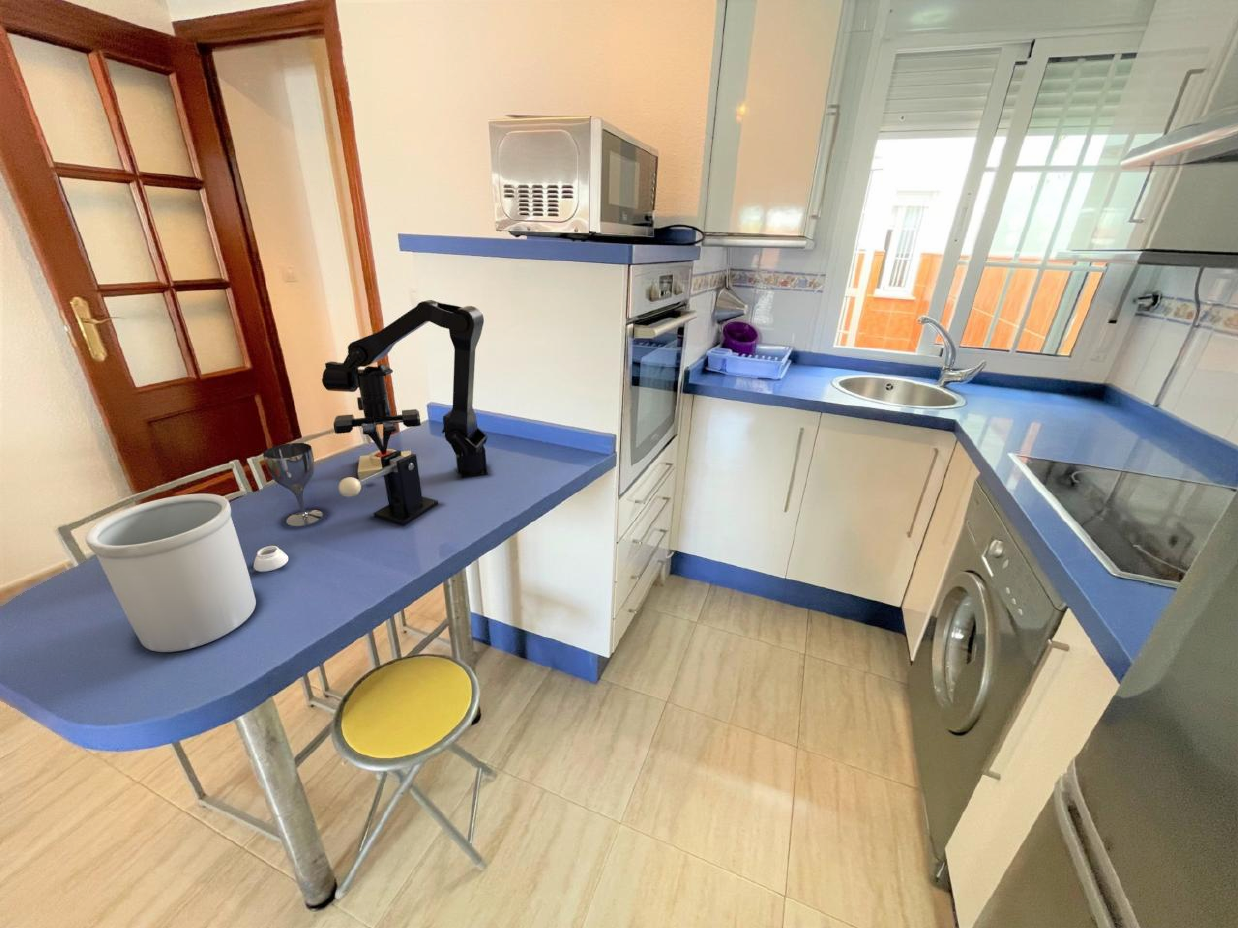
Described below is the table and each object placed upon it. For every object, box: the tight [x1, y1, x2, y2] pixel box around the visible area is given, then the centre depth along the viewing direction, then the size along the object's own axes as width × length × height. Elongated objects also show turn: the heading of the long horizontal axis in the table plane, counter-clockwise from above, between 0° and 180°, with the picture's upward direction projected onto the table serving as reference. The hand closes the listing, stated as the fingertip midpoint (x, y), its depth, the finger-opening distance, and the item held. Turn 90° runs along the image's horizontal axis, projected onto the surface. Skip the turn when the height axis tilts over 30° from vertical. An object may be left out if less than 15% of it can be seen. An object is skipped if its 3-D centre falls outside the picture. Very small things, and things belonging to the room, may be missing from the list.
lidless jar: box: [253, 545, 289, 573], centre depth 87 cm, size 5×3×5 cm
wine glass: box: [262, 442, 323, 527], centre depth 99 cm, size 8×8×15 cm
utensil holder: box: [84, 493, 257, 653], centre depth 71 cm, size 15×15×18 cm
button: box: [376, 451, 392, 457], centre depth 125 cm, size 4×4×2 cm
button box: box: [357, 448, 412, 479], centre depth 125 cm, size 12×10×4 cm
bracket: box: [373, 449, 439, 527], centre depth 103 cm, size 10×8×13 cm
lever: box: [338, 456, 404, 498], centre depth 96 cm, size 15×4×4 cm, turn 157°
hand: (384, 453), depth 124 cm, fingers closed, pressing on button
